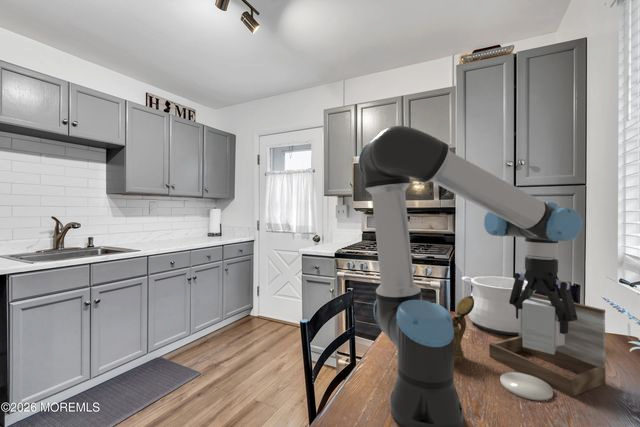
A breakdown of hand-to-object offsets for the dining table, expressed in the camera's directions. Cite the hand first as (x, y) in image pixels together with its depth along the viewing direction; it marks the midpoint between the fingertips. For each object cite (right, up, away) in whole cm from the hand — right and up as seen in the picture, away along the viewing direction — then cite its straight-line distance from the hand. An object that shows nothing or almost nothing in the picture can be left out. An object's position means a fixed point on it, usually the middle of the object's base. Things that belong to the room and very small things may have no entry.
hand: (540, 337), depth 85 cm
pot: (+9, -9, +33) cm, 35 cm away
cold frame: (+1, -9, 0) cm, 9 cm away
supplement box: (0, -3, 0) cm, 3 cm away
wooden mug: (-20, -9, +9) cm, 24 cm away
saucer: (-10, -9, -8) cm, 16 cm away
